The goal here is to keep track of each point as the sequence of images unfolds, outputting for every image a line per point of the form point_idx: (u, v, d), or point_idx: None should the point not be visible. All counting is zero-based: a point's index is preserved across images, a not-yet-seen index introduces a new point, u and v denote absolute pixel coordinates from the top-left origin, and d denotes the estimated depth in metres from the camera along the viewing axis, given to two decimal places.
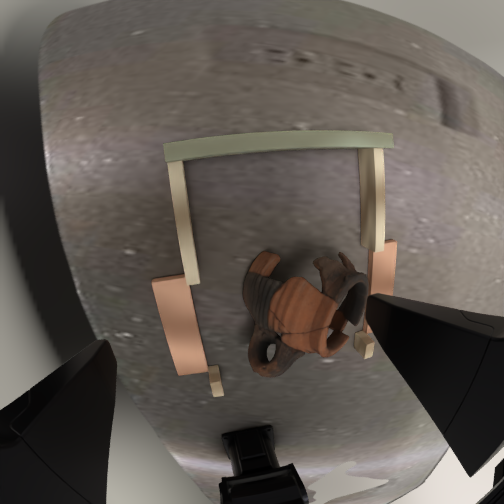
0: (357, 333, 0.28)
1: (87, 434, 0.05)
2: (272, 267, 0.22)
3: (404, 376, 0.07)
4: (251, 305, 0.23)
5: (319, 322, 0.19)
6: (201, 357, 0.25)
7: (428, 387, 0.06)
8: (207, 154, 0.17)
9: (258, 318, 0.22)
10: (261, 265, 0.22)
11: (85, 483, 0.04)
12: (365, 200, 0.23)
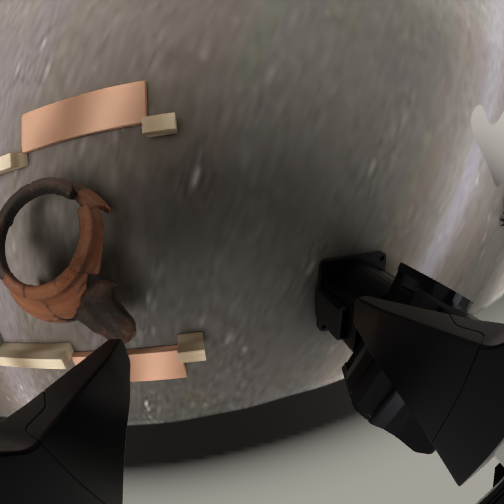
0: (147, 135, 0.17)
1: (104, 435, 0.05)
2: None
3: (392, 381, 0.07)
4: None
5: None
6: (158, 355, 0.21)
7: (416, 393, 0.06)
8: None
9: None
10: None
11: (101, 486, 0.04)
12: None
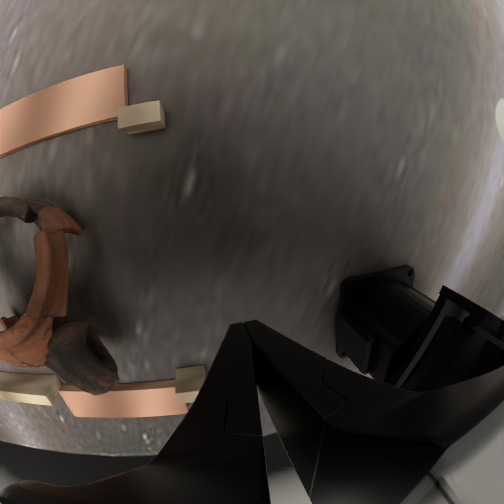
0: None
1: None
2: None
3: (272, 421, 0.07)
4: None
5: None
6: (154, 392, 0.17)
7: (288, 443, 0.06)
8: None
9: None
10: None
11: None
12: None
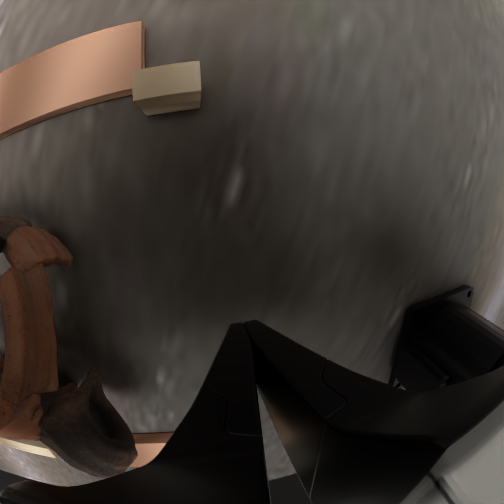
0: None
1: None
2: None
3: (272, 421, 0.07)
4: None
5: None
6: None
7: (288, 443, 0.06)
8: None
9: None
10: None
11: None
12: None
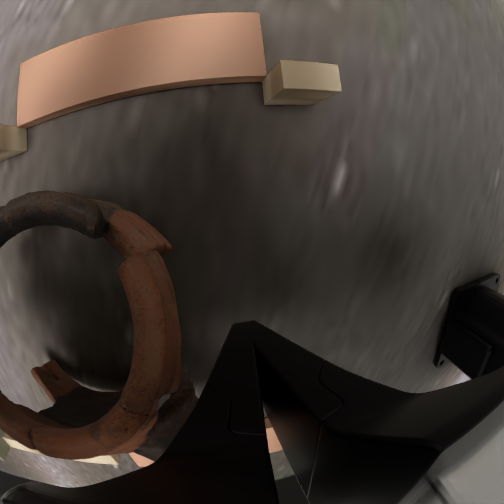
0: (265, 100, 0.10)
1: None
2: (44, 388, 0.09)
3: (270, 421, 0.07)
4: None
5: None
6: None
7: (285, 443, 0.06)
8: None
9: None
10: None
11: None
12: None
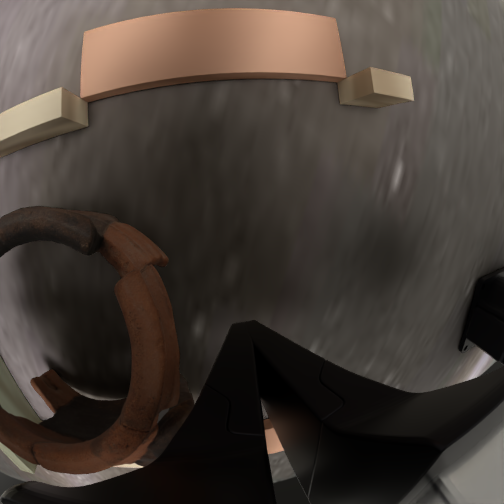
0: (342, 100, 0.10)
1: None
2: (44, 398, 0.09)
3: (271, 421, 0.07)
4: None
5: None
6: None
7: (286, 443, 0.06)
8: None
9: None
10: None
11: None
12: None
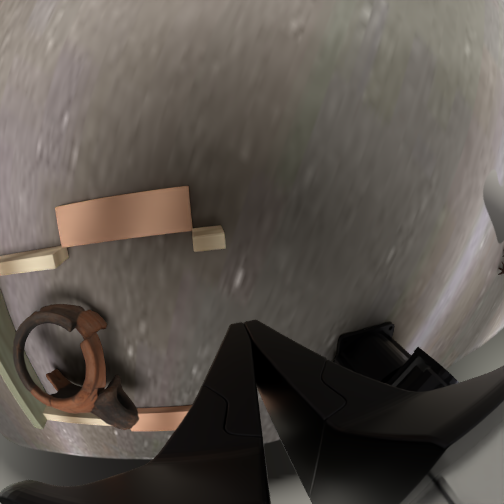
0: None
1: None
2: (52, 383, 0.18)
3: (272, 421, 0.07)
4: None
5: None
6: None
7: (288, 443, 0.06)
8: (29, 411, 0.17)
9: None
10: None
11: None
12: None
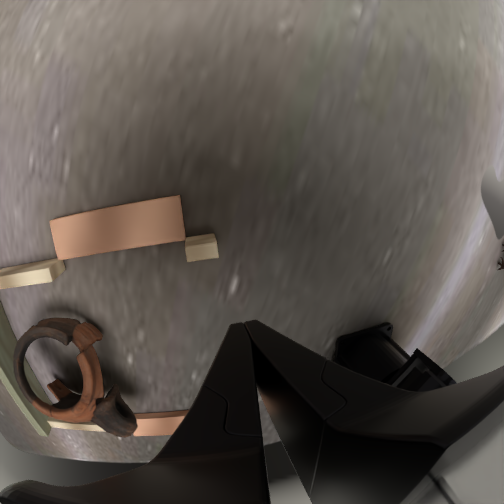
0: None
1: None
2: (53, 393, 0.19)
3: (272, 421, 0.07)
4: None
5: None
6: None
7: (288, 442, 0.06)
8: (34, 419, 0.17)
9: None
10: None
11: None
12: None
